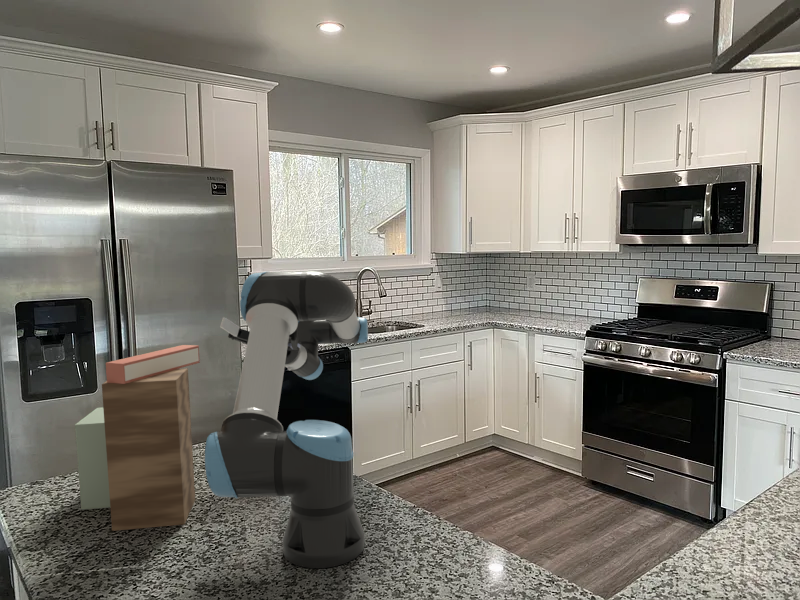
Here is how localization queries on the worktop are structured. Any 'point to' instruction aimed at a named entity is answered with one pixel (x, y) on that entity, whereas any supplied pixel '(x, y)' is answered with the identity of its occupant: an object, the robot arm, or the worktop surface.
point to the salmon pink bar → (151, 364)
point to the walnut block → (149, 451)
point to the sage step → (92, 461)
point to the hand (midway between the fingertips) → (245, 322)
